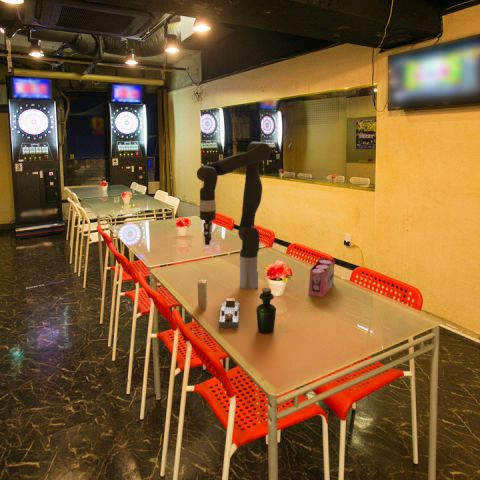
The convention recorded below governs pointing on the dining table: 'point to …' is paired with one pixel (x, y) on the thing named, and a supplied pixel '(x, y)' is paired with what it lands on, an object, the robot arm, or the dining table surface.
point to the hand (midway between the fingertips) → (208, 242)
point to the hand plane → (229, 314)
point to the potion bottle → (266, 312)
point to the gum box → (321, 277)
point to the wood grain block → (202, 293)
